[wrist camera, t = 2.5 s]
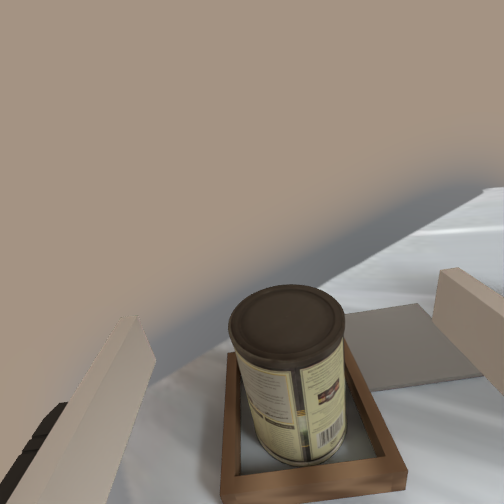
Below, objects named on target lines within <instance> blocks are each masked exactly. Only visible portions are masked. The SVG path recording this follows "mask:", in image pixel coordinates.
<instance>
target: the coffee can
mask: <svg viewBox="0 0 504 504" xmlns="http://www.w3.org/2000/svg"><path fill="white" fill-rule="evenodd" d="M228 331H229V336H230V339H231V341H232V344H233V346H234V349H235V353H236V357H237V360H238V364H239V368H240V372H241V375H242V379H243V383H244V387H245V391H246V394H247V398H248V402H249V406H250V410H251V413H252V417H253V421H254V428H255V432H256V435H257V437H258V439H259V441H260V443H261V444H262V446H263V447H264V448H265V450H266V451H267V452H268V453H269V454H270V455H272V456H273V457H274V458H276V459H278V460H279V461H281V462H283V463H286V464H289V465H293V466H299V467H306V466H313V465H317V464H319V463H323V462H324V461H325V460H327V459H328V458H330V457H331V456H332V455H333V454H334V453H335V452H336V451H337V450H338V449H339V447H340V446H341V444H342V442H343V440H344V437H345V434H346V430H347V416H346V396H345V357H344V331H345V314H344V311H343V309H342V307H341V305H340V304H339V303H338V302H337V301H336V300H335V299H334V298H333V297H332V296H330V295H329V294H327V293H326V292H324V291H322V290H319V289H317V288H313V287H310V286H304V285H293V284H290V285H278V286H273V287H269V288H266V289H263V290H260V291H258V292H256V293H253V294H251V295H250V296H248V297H247V298H245V299H244V300H243V301H242V302H240V303H239V304H238V306H237V307H236V308H235V309H234V311H233V312H232V314H231V316H230V319H229V323H228Z"/></svg>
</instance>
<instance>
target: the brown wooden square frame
mask: <svg viewBox="0 0 504 504" xmlns="http://www.w3.org/2000/svg"><path fill="white" fill-rule="evenodd" d="M344 357H345V380H346V382H347V385H348V387H349V390H350V392H351V395H352V397H353V400H354V402H355V405H356V407H357V410H358V412H359V414H360V417H361V419H362V422H363V424H364V427H365V429H366V432H367V434H368V437H369V439H370V442H371V444H372V446H373V449H374V451H375V454H376V456H377V458H370V459H362V460H355V461H347V462H340V463H332V464H325V465H318V466H310V467H303V468H295V469H288V470H280V471H273V472H265V473H258V474H251V475H243V476H241V383H240V375H241V372H240V368H239V364H238V360H237V357H236V353H235V352H231V353H228V355H227V373H226V391H225V410H224V428H223V446H222V465H221V483H220V497H221V500H222V502H223V504H301V503H309V502H317V501H324V500H332V499H340V498H347V497H355V496H363V495H370V494H378V493H386V492H393V491H401V490H405V487H406V481H407V475H408V469H407V467H406V465H405V463H404V461H403V459H402V457H401V455H400V453H399V451H398V449H397V447H396V444H395V442H394V440H393V438H392V436H391V434H390V432H389V430H388V428H387V426H386V424H385V422H384V419H383V417H382V415H381V413H380V411H379V409H378V407H377V405H376V403H375V401H374V399H373V397H372V394H371V392H370V390H369V388H368V386H367V384H366V382H365V380H364V378H363V376H362V374H361V372H360V369H359V367H358V365H357V363H356V361H355V359H354V357H353V355H352V353H351V351H350V349H349V347H348V344H347V342H346V340H345V338H344Z"/></svg>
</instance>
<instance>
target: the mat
mask: <svg viewBox="0 0 504 504" xmlns="http://www.w3.org/2000/svg"><path fill="white" fill-rule="evenodd" d="M344 338H345V340H346V342H347V344H348V347H349V349H350V351H351V353H352V355H353V357H354V359H355V361H356V363H357V365H358V367H359V369H360V372H361V374H362V376H363V378H364V380H365V382H366V384H367V386H368V388H369V390H370V392H375V391H382V390H389V389H396V388H403V387H410V386H417V385H424V384H431V383H438V382H445V381H452V380H459V379H466V378H473V377H480V376H484V375H483V374H482V373H481V372H480V371H479V370H478V369H477V368H476V367H475V366H474V365H473V364H472V363H471V361H470V360H469V359H468V358H467V357H466V356H465V355H464V354H463V353H462V352H461V351H460V350H459V349H458V348H457V347H456V346H455V345H454V344H453V343H452V342H451V341H450V340H449V339H448V338H447V337H446V336H445V334H444V333H443V332H442V331H441V330H440V329H439V328H438V327H437V326H436V325H435V324H434V323H433V322H432V318H431V317H430V316H429V315H428V314H427V313H426V312H425V311H424V309H423V308H422V307H421V306H420V305H419V304H418V303H416V304H409V305H403V306H396V307H390V308H383V309H377V310H370V311H363V312H357V313H350V314H345V331H344Z"/></svg>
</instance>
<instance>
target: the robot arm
mask: <svg viewBox="0 0 504 504" xmlns="http://www.w3.org/2000/svg"><path fill="white" fill-rule="evenodd" d="M432 322H433V323H434V324H435V325H436V326H437V327H438V328H439V329H440V330H441V331H442V332H443V333H444V334H445V336H446V337H447V338H448V339H449V340H450V341H451V342H452V343H453V344H454V345H455V346H456V347H457V348H458V349H459V350H460V351H461V352H462V353H463V354H464V355H465V356H466V357H467V358H468V359H469V360H470V361H471V363H472V364H473V365H474V366H475V367H476V368H477V369H478V370H479V371H480V372H481V373H482V374H483V375H484V376H485V377H486V378H487V379H488V380H489V381H490V382H491V383H492V384H493V385H494V386H495V387H496V388H497V389H498V391H499V392H500V393H501V394H502V395H503V396H504V297H502V296H501V295H499V294H498V293H496V292H495V291H493V290H492V289H490V288H489V287H487V286H486V285H484V284H483V283H481V282H480V281H478V280H477V279H475V278H474V277H472V276H471V275H469V274H468V273H466V272H465V271H463V270H462V269H460V268H459V267H458V268H451V269H444V270H440V274H439V280H438V286H437V292H436V298H435V304H434V311H433V317H432ZM155 363H156V358H155V356H154V353H153V351H152V349H151V346H150V344H149V341H148V339H147V336H146V334H145V331H144V329H143V327H142V324H141V322H140V319H139V317H138V315H135V316H127V317H121V318H120V319H119V321H118V323H117V324H116V326H115V327H114V329H113V331H112V333H111V334H110V336H109V337H108V339H107V340H106V342H105V344H104V346H103V347H102V349H101V350H100V352H99V353H98V355H97V357H96V358H95V360H94V362H93V363H92V365H91V367H90V368H89V370H88V371H87V373H86V375H85V376H84V378H83V380H82V381H81V383H80V384H79V386H78V388H77V389H76V391H75V392H74V394H73V396H72V397H71V399H70V401H69V402H64V403H59V404H58V405H57V406H56V407H55V408H54V409H53V410H52V411H51V412H50V413H49V414H48V415H47V416H46V417H45V418H44V419H43V420H42V422H41V423H40V425H39V426H38V428H37V429H36V431H35V432H34V434H33V435H32V439H31V440H29V441H28V443H27V445H26V446H25V447H24V449H23V450H22V454H21V455H19V456H18V458H17V459H16V461H15V462H14V464H13V466H12V467H11V468H10V470H9V471H8V473H7V474H6V476H5V478H4V479H3V480H2V482H1V484H0V504H106V502H107V499H108V496H109V493H110V490H111V488H112V485H113V482H114V479H115V476H116V473H117V471H118V468H119V465H120V462H121V459H122V457H123V454H124V451H125V448H126V445H127V442H128V440H129V437H130V434H131V431H132V428H133V425H134V423H135V420H136V417H137V414H138V411H139V408H140V406H141V403H142V400H143V397H144V394H145V391H146V389H147V386H148V383H149V380H150V377H151V374H152V371H153V369H154V366H155Z"/></svg>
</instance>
